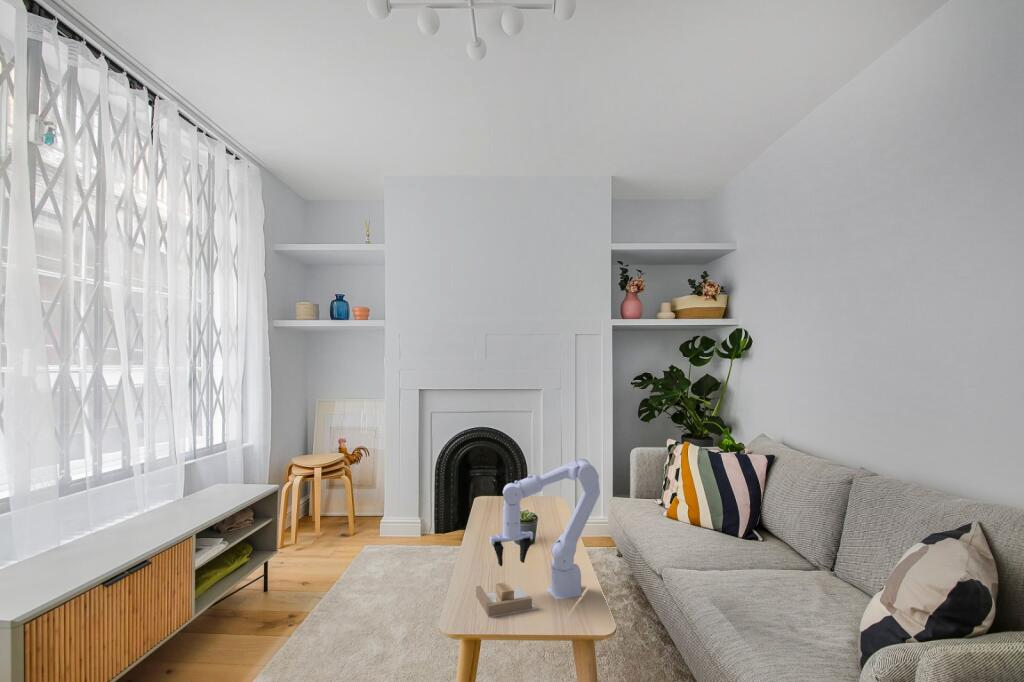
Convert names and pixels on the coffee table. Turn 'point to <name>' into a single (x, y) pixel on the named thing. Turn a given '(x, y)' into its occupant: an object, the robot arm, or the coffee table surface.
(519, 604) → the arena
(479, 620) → the coffee table surface
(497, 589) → the oak block
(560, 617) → the coffee table surface
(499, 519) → the coffee table surface
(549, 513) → the coffee table surface
